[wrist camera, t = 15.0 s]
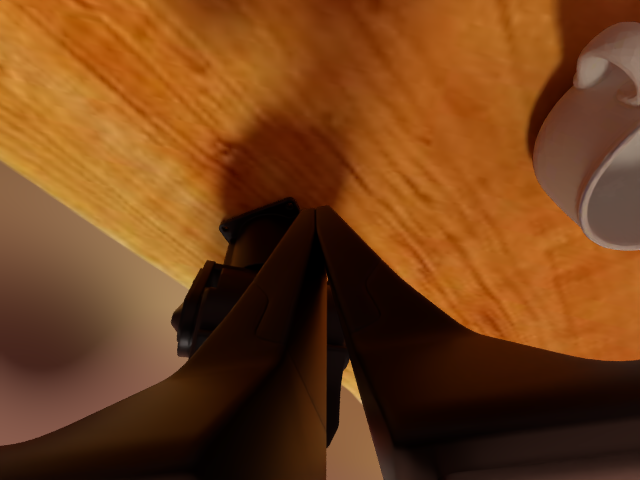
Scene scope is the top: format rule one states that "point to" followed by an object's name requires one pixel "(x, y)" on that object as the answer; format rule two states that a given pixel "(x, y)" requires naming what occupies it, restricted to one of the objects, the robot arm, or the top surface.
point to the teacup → (598, 141)
